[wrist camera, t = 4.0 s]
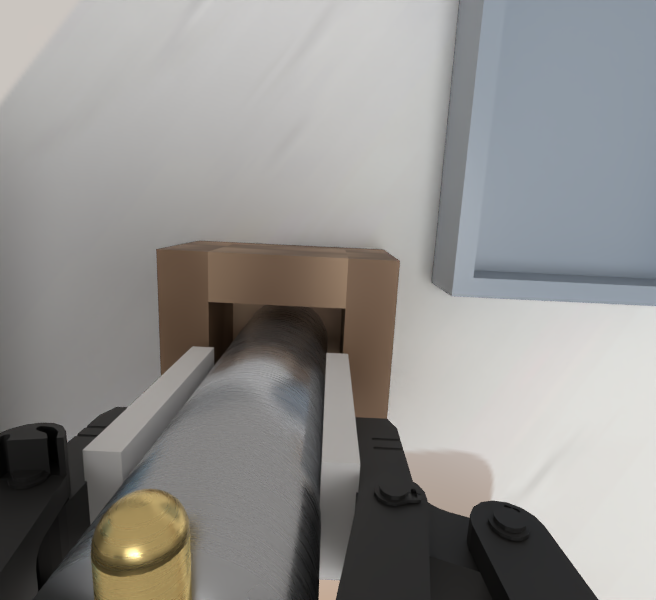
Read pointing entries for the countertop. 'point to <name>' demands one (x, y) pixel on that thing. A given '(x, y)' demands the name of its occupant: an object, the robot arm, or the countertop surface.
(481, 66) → the tray
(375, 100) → the countertop surface
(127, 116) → the countertop surface
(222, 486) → the steel pin
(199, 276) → the block
